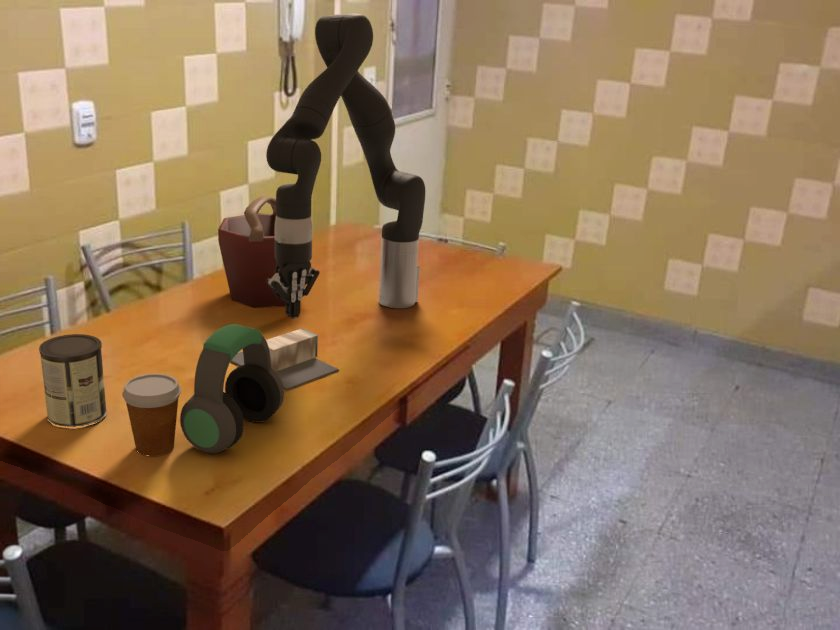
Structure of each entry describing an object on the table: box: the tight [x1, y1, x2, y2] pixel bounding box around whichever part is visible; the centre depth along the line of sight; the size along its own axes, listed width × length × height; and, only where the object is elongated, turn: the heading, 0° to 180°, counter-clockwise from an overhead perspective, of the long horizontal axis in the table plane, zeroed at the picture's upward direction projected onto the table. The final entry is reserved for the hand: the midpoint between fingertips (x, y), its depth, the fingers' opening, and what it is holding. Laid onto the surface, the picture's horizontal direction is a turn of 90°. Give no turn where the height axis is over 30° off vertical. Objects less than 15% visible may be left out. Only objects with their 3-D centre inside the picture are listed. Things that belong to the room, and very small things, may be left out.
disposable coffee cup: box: [121, 373, 182, 457], centre depth 151 cm, size 10×10×12 cm
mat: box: [230, 351, 339, 391], centre depth 187 cm, size 14×20×1 cm
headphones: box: [179, 323, 285, 454], centre depth 156 cm, size 19×11×20 cm, turn 156°
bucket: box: [217, 196, 286, 309], centre depth 221 cm, size 24×22×25 cm
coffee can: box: [38, 333, 108, 427], centre depth 160 cm, size 10×10×14 cm
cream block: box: [266, 328, 319, 372], centre depth 188 cm, size 5×5×12 cm
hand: (292, 316), depth 186 cm, fingers closed
